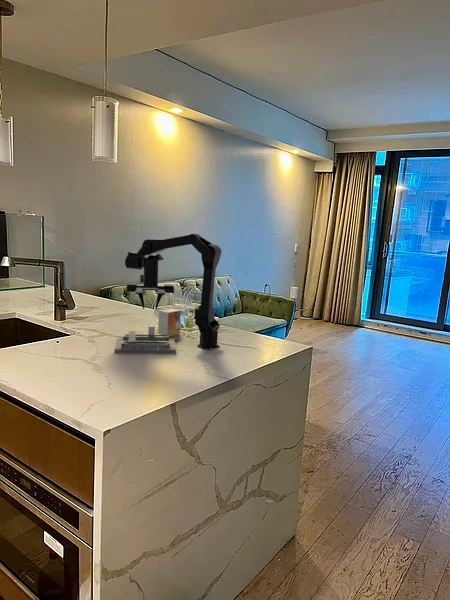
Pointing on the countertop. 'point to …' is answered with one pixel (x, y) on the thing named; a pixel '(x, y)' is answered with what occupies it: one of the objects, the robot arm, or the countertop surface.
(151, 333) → the fader cap grey
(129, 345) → the panel
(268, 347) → the countertop surface
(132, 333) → the block
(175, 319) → the small box
